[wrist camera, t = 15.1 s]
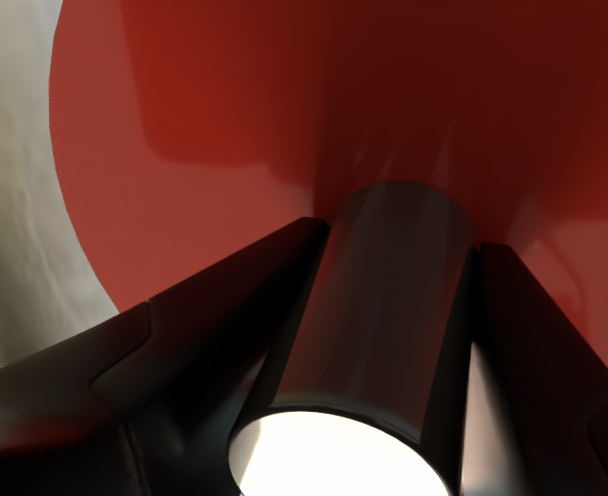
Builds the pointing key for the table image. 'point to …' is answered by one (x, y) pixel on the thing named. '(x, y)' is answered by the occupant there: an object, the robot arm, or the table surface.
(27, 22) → the table surface
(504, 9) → the lid
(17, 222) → the table surface
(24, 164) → the table surface
